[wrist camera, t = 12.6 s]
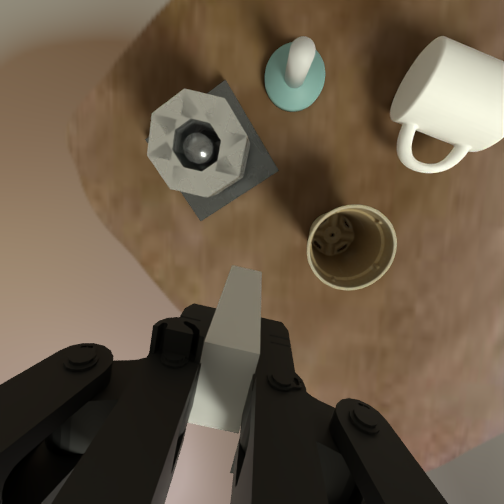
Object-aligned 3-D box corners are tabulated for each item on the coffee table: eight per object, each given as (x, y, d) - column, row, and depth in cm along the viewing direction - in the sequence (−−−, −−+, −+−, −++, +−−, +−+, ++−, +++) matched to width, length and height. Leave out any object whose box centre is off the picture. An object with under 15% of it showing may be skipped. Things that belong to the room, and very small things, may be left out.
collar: (176, 100, 30) (155, 81, 24) (255, 119, 30) (253, 105, 24) (165, 182, 32) (143, 182, 27) (238, 199, 33) (233, 203, 27)
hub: (227, 84, 33) (213, 48, 24) (278, 171, 35) (282, 168, 26) (150, 141, 35) (111, 128, 26) (203, 219, 37) (183, 232, 28)
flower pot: (319, 185, 36) (336, 187, 27) (380, 219, 36) (415, 230, 28) (285, 247, 38) (291, 266, 30) (342, 277, 39) (364, 304, 30)
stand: (305, 32, 31) (317, -12, 24) (333, 89, 33) (353, 63, 25) (253, 70, 33) (250, 38, 25) (283, 123, 34) (288, 108, 27)
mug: (411, 56, 32) (459, 16, 24) (488, 88, 32) (559, 59, 24) (365, 158, 35) (394, 152, 27) (436, 186, 35) (484, 188, 28)
